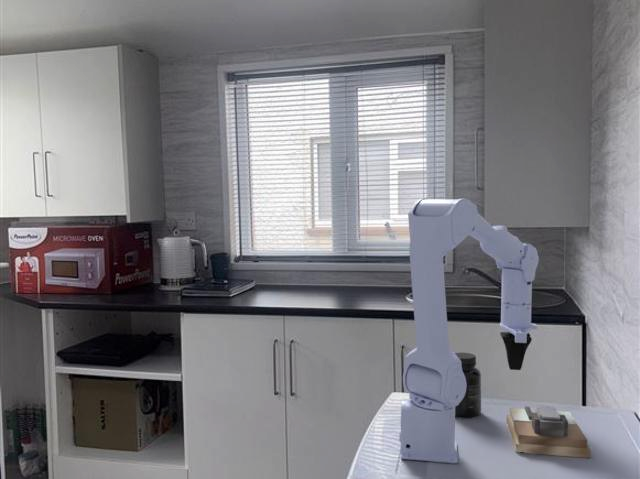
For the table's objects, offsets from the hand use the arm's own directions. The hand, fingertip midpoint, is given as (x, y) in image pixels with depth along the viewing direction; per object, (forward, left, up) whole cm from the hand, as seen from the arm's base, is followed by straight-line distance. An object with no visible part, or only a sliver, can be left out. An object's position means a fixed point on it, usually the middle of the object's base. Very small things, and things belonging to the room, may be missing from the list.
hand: (514, 368), depth 113 cm
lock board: (+4, -11, -9) cm, 15 cm away
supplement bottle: (-10, -1, -10) cm, 14 cm away
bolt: (+4, -13, -6) cm, 15 cm away
